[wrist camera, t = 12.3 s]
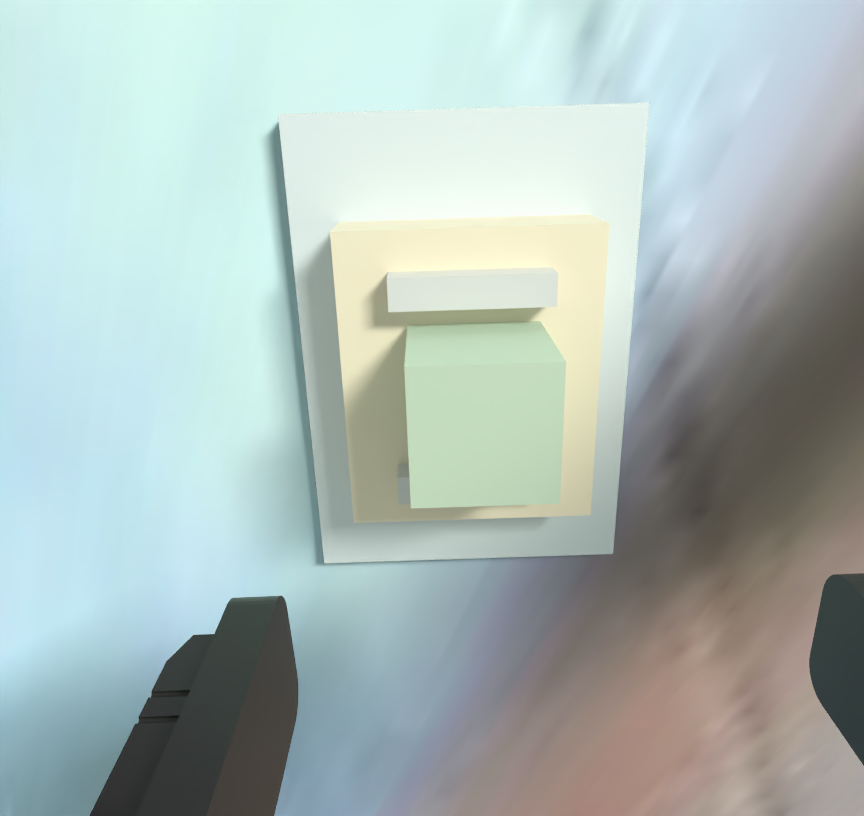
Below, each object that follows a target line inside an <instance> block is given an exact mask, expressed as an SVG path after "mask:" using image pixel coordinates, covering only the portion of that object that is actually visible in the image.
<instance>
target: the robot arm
mask: <svg viewBox="0 0 864 816" xmlns="http://www.w3.org/2000/svg"><path fill="white" fill-rule="evenodd" d="M809 666H810V675H811V680H812V684H813V687H814V690H815V692H816V695H817V697H818V699H819V701H820V702H821V704H822V706H823V707H824V709H825V710H826V711H827V713H828V714H829V716H830V717H831V719H832V720H833V722H834V723H835V725H836V726H837V727H838V729H839V730H840V732H841V733H842V735H843V736H844V738H845V739H846V740H847V742H848V743H849V745H850V746H851V748H852V749H853V751H854V752H855V754H856V755H857V756H858V758H859V759H860V761H861V762H862V764H863V765H864V573H862V574H837V575H832V576H830V577H829V578H828V579H827V580H826V582H825V584H824V588H823V592H822V597H821V602H820V608H819V613H818V618H817V623H816V628H815V633H814V638H813V643H812V648H811V653H810V660H809ZM297 706H298V678H297V670H296V664H295V657H294V651H293V644H292V638H291V631H290V625H289V618H288V612H287V606H286V602H285V599H284V598H283V597H282V596H268V597H243V598H232V599H231V600H230V601H229V602H228V604H227V606H226V609H225V611H224V613H223V616H222V618H221V620H220V623H219V625H218V627H217V630H216V632H215V634H208V635H193V636H192V637H191V638H190V639H189V640H188V641H187V642H186V643H185V644H184V645H183V646H182V647H181V648H180V649H179V650H178V651H177V652H176V653H175V654H174V655H173V656H172V657H171V658H170V659H169V660H167V662H166V664H165V666H164V668H163V670H162V672H161V674H160V676H159V678H158V680H157V682H156V684H155V686H154V688H153V690H152V696H151V698H148V700H147V702H146V704H145V706H144V708H143V710H142V712H141V714H140V716H139V722H138V724H135V726H134V728H133V730H132V732H131V734H130V736H129V738H128V740H127V742H126V744H125V746H124V748H123V750H122V752H121V754H120V756H119V758H118V760H117V762H116V764H115V766H114V768H113V770H112V772H111V774H110V776H109V778H108V780H107V782H106V784H105V786H104V788H103V790H102V792H101V794H100V796H99V798H98V800H97V802H96V804H95V806H94V808H93V810H92V812H91V814H90V816H274V814H275V809H276V805H277V801H278V796H279V792H280V787H281V783H282V779H283V774H284V770H285V765H286V761H287V757H288V752H289V748H290V744H291V739H292V735H293V730H294V726H295V721H296V715H297Z"/></svg>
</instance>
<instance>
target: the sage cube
mask: <svg viewBox="0 0 864 816" xmlns="http://www.w3.org/2000/svg"><path fill="white" fill-rule="evenodd" d="M404 372H405V393H406V414H407V436H408V457H409V478H410V500H411V509H413V508H443V507H474V506H505V505H535V504H560V489H561V467H562V445H563V422H564V400H565V378H566V360H565V359H564V357H563V356H562V354H561V353H560V351H559V349H558V348H557V346H556V345H555V343H554V342H553V340H552V338H551V337H550V335H549V334H548V332H547V331H546V329H545V327H544V326H543V324H542V323H541V321H521V322H490V323H459V324H428V325H407V338H406V351H405V364H404Z"/></svg>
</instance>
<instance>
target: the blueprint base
mask: <svg viewBox="0 0 864 816" xmlns="http://www.w3.org/2000/svg"><path fill="white" fill-rule="evenodd" d="M648 115H649V103H625V104H594V105H562V106H530V107H498V108H466V109H434V110H402V111H370V112H338V113H306V114H278V120H279V130H280V140H281V149H282V159H283V169H284V178H285V188H286V198H287V207H288V217H289V227H290V236H291V246H292V256H293V265H294V275H295V285H296V294H297V304H298V314H299V324H300V333H301V343H302V353H303V362H304V372H305V382H306V391H307V401H308V411H309V420H310V430H311V440H312V449H313V459H314V469H315V478H316V488H317V498H318V507H319V517H320V527H321V537H322V546H323V556H324V563H350V562H381V561H412V560H443V559H474V558H505V557H535V556H566V555H597V554H613V548H614V536H615V524H616V511H617V499H618V486H619V474H620V462H621V449H622V437H623V425H624V412H625V400H626V387H627V375H628V363H629V350H630V338H631V325H632V313H633V301H634V288H635V276H636V264H637V251H638V239H639V226H640V214H641V202H642V189H643V177H644V164H645V152H646V140H647V127H648ZM521 321H541V323H542V324H543V326H544V327H545V329H546V331H547V332H548V334H549V335H550V337H551V338H552V340H553V342H554V343H555V345H556V346H557V348H558V349H559V351H560V353H561V354H562V356H563V357H564V359H565V360H566V378H565V400H564V422H563V445H562V467H561V489H560V504H535V505H505V506H474V507H443V508H413V509H411V500H410V478H409V457H408V436H407V414H406V393H405V372H404V364H405V351H406V338H407V325H428V324H459V323H490V322H521Z"/></svg>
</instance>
